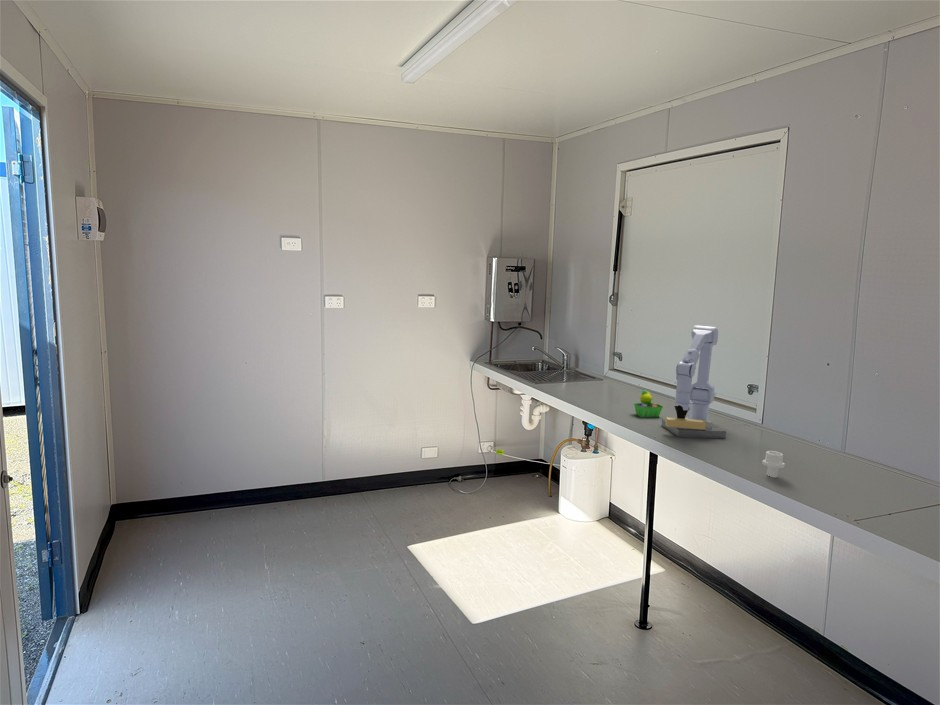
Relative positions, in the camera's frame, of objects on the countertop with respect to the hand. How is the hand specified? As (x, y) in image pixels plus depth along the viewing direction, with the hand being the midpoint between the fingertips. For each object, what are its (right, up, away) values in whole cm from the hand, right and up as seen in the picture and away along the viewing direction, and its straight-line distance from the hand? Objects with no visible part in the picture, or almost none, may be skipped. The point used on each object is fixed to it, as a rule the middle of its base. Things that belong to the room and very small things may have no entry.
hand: (680, 423), depth 262 cm
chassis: (+7, -4, +5) cm, 9 cm away
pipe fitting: (+15, -13, -48) cm, 52 cm away
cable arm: (+3, -1, -3) cm, 4 cm away
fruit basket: (-5, 0, +30) cm, 31 cm away
